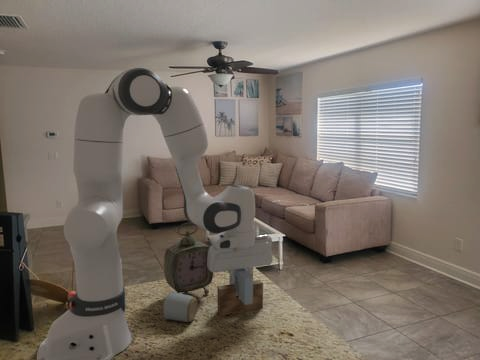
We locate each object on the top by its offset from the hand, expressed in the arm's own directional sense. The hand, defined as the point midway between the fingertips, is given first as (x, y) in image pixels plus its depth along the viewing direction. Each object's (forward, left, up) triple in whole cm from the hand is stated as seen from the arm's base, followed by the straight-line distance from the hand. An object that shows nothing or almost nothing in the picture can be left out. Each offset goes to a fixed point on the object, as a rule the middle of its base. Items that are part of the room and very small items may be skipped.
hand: (240, 281), depth 117 cm
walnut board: (0, 0, -9) cm, 9 cm away
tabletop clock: (-13, +15, -9) cm, 22 cm away
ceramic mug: (-18, +2, -9) cm, 20 cm away
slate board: (0, 0, -4) cm, 4 cm away
